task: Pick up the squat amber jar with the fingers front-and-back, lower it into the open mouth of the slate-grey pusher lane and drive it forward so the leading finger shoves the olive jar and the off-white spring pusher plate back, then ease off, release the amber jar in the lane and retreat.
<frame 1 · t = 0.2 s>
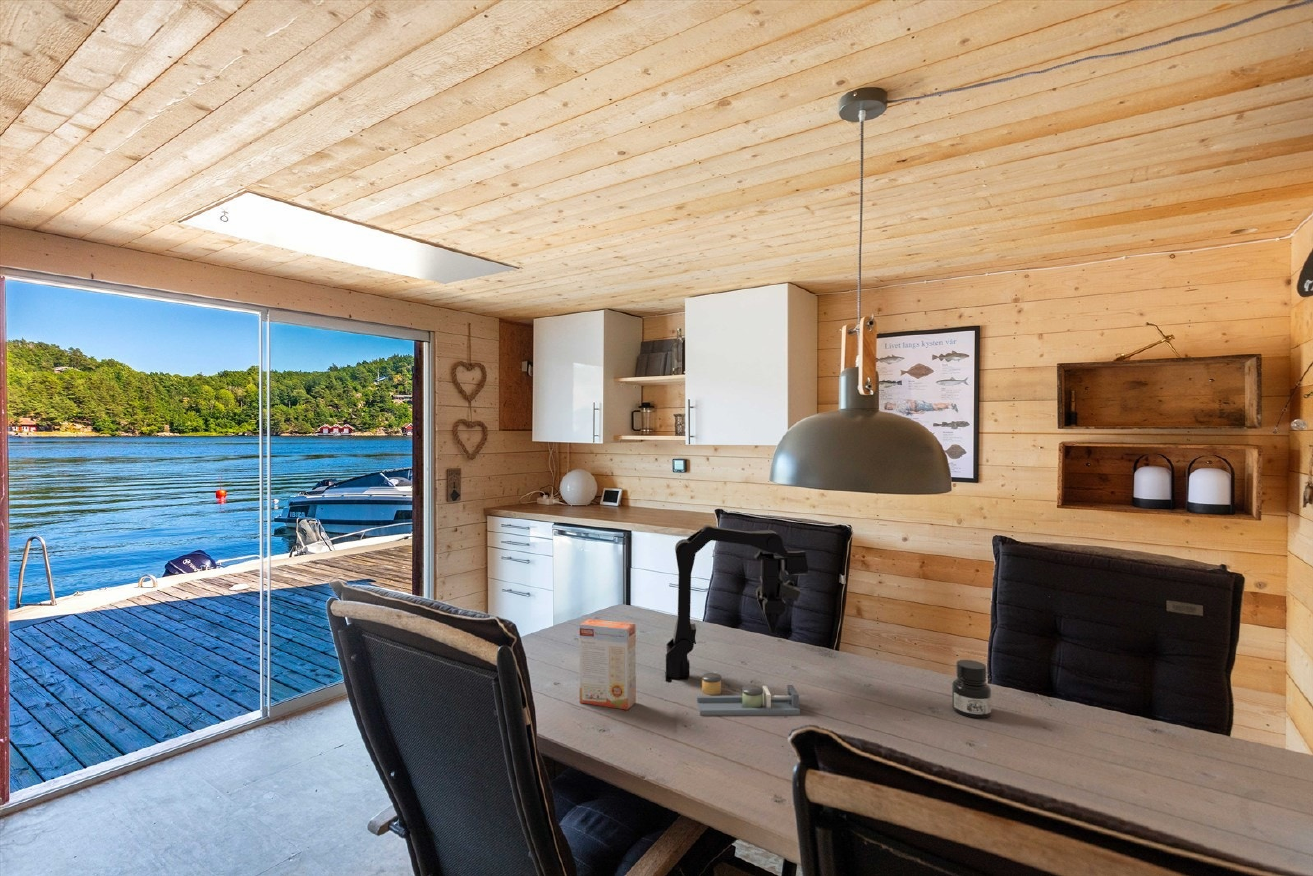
hand: (770, 628, 180), 14 cm above the table, fingers open, 9 cm apart
pusher: (787, 698, 159), point 3 cm above the table, slide at 0.0 cm
jar in lane: (752, 707, 159), point 1 cm above the table, touching lane
ink bottle: (971, 712, 158), on the table
lane: (747, 709, 159), on the table
jar: (711, 693, 169), on the table
cracker box: (607, 703, 163), on the table
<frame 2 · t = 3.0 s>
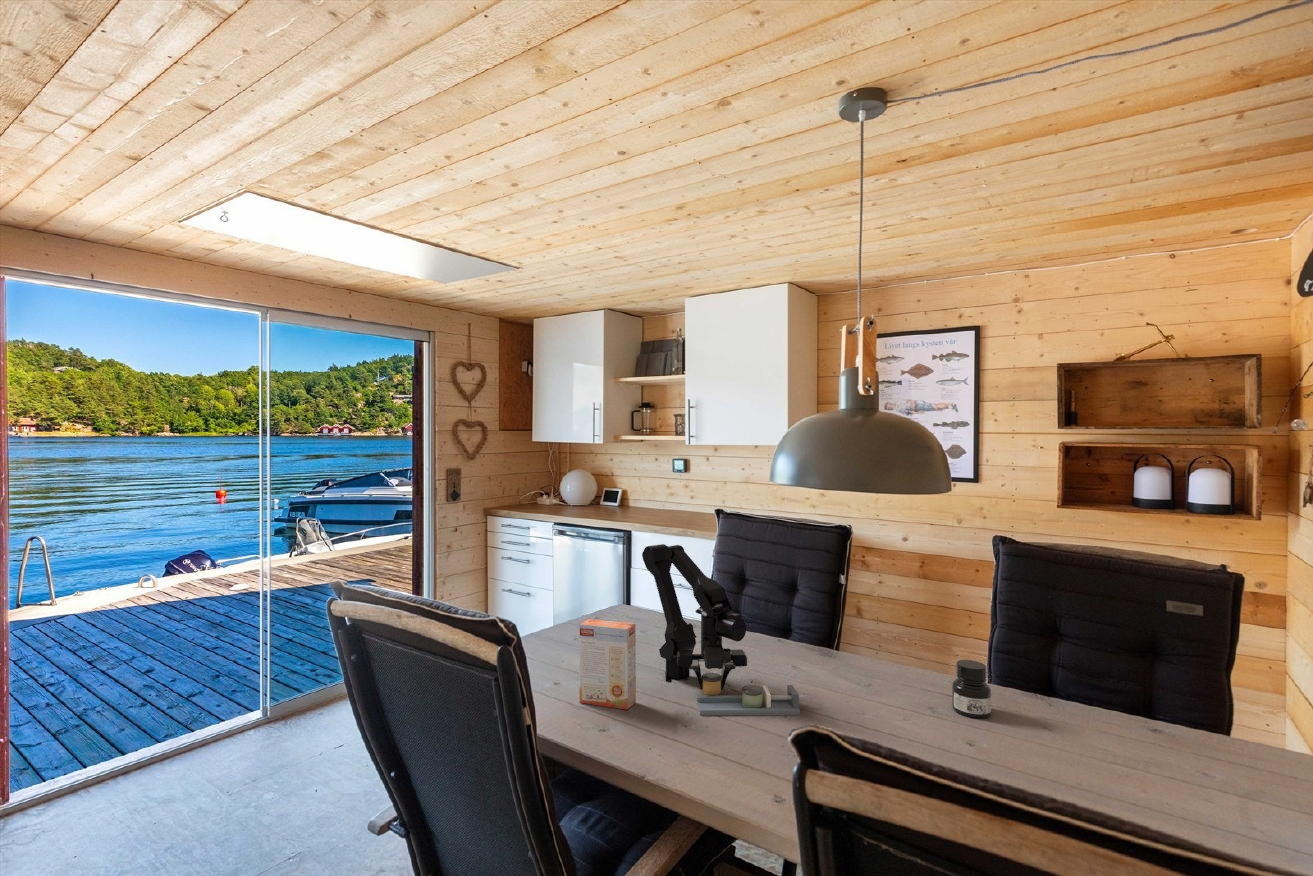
hand: (711, 689, 169), 1 cm above the table, fingers closed on jar, 5 cm apart
jar: (711, 693, 169), on the table, touching gripper
everything else where it was.
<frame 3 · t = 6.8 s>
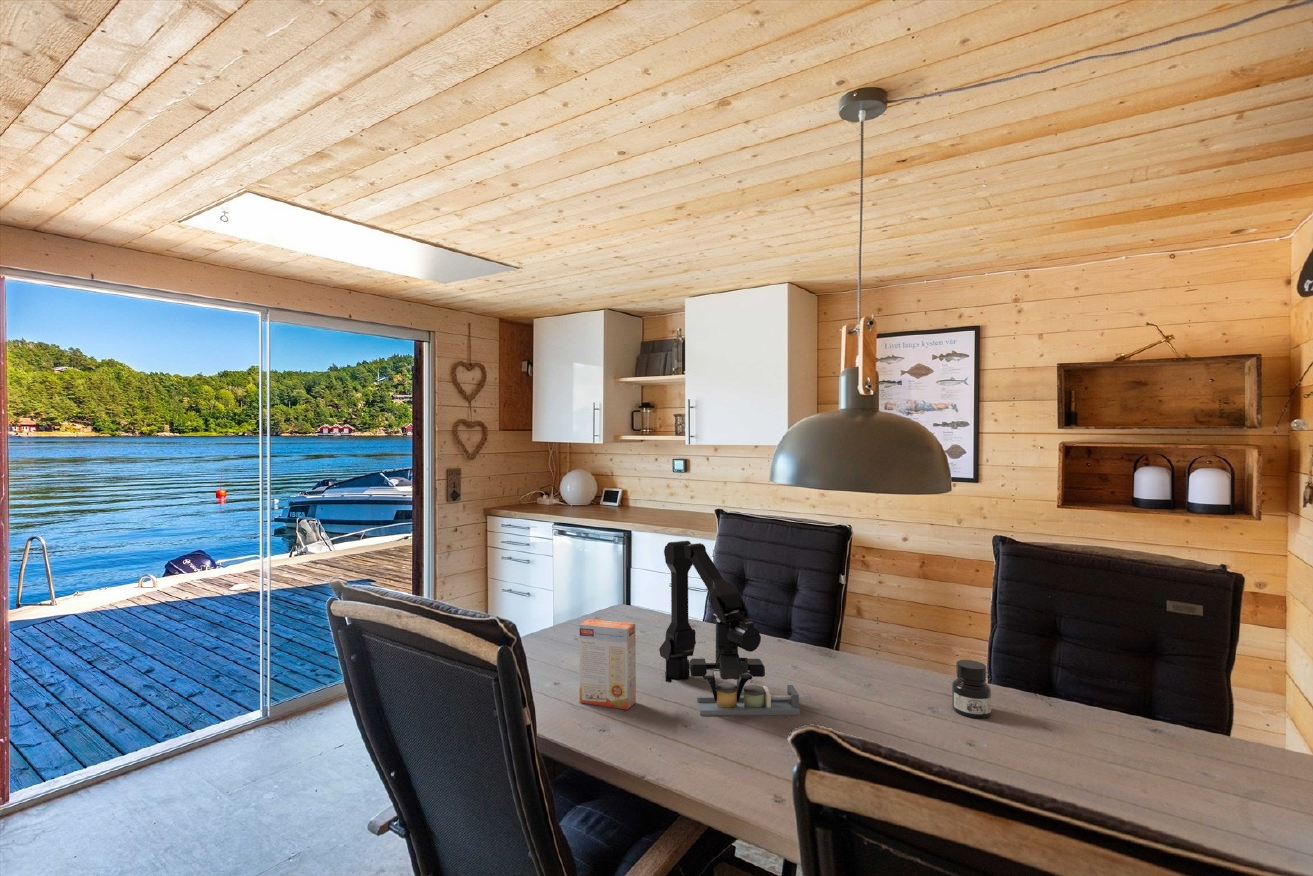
hand: (726, 701, 158), 2 cm above the table, fingers closed on jar, 5 cm apart
jar in lane: (754, 707, 159), point 1 cm above the table, touching gripper
jar: (726, 705, 158), point 1 cm above the table, touching gripper
everything else where it was.
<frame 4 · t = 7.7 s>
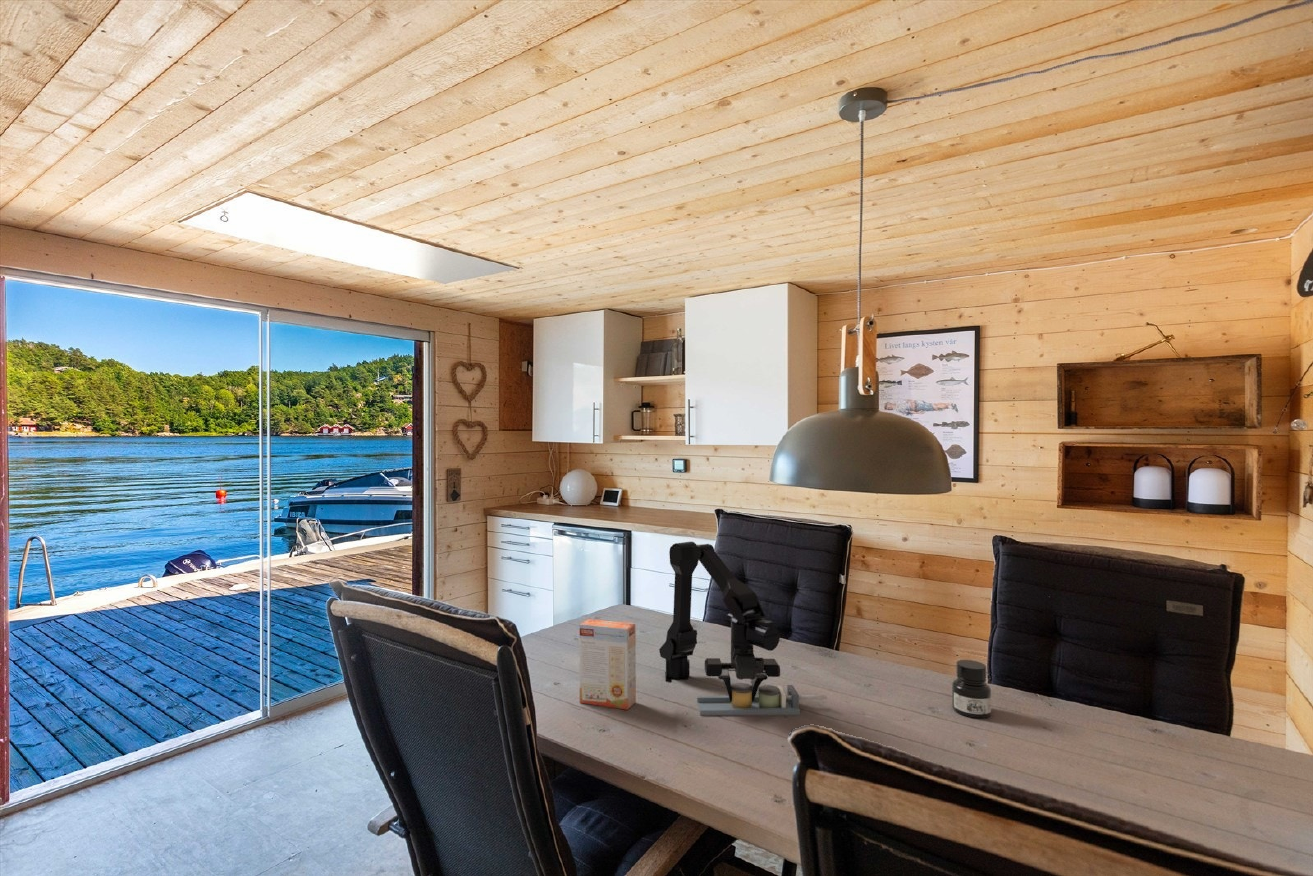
hand: (741, 700, 159), 2 cm above the table, fingers closed on jar, 5 cm apart
pusher: (802, 697, 159), point 3 cm above the table, slide at 3.8 cm, touching jar in lane
jar in lane: (769, 707, 159), point 1 cm above the table, touching gripper, lane, pusher
jar: (741, 705, 158), point 1 cm above the table, touching gripper
everything else where it was.
when the fingers open (2 cm above the table, at t = 9.1 s): jar stays where it is, resting on lane.
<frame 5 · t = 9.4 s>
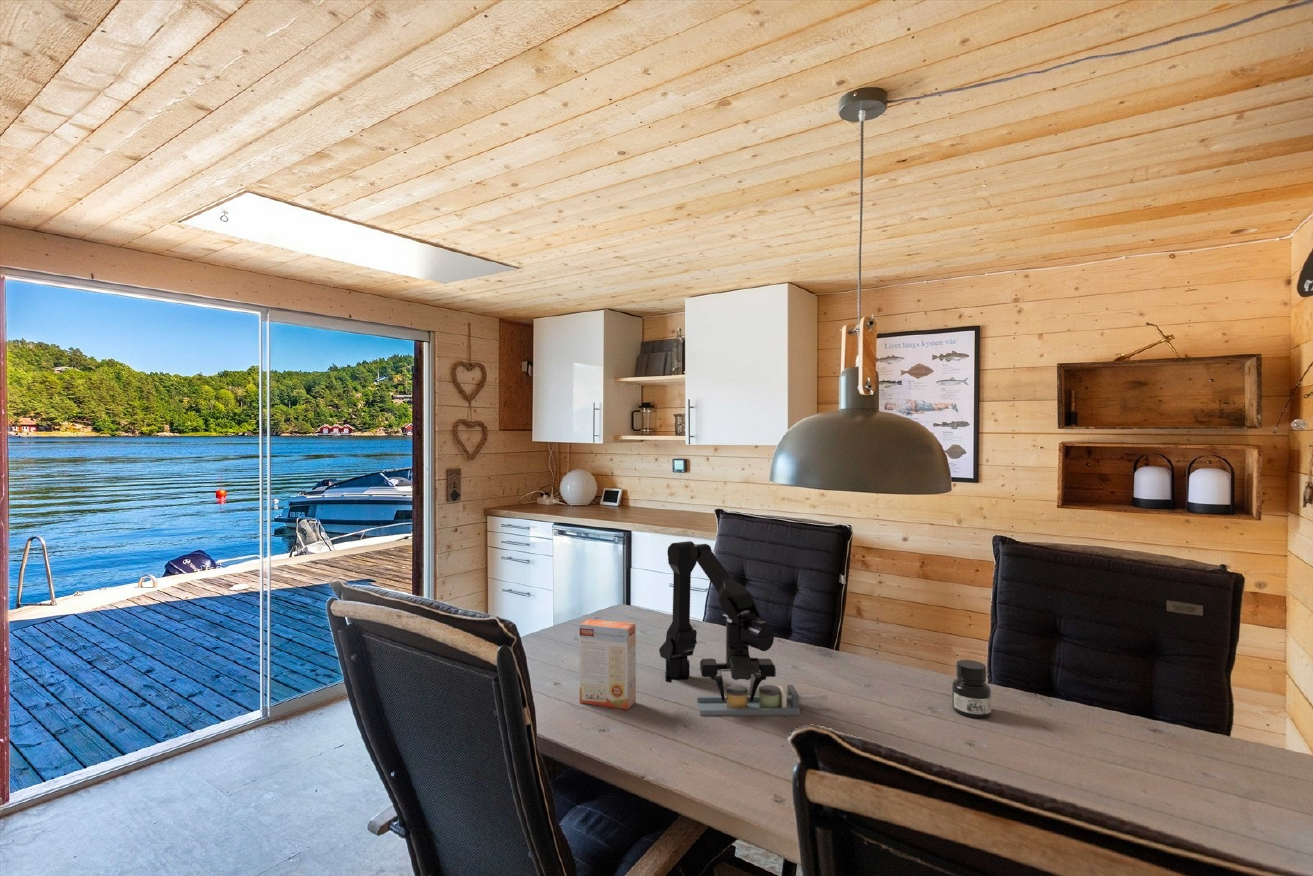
hand: (737, 701, 159), 2 cm above the table, fingers open, 7 cm apart
pusher: (803, 697, 159), point 3 cm above the table, slide at 4.0 cm
jar in lane: (769, 707, 159), point 1 cm above the table, touching lane
jar: (737, 707, 159), point 1 cm above the table, touching lane
everything else where it was.
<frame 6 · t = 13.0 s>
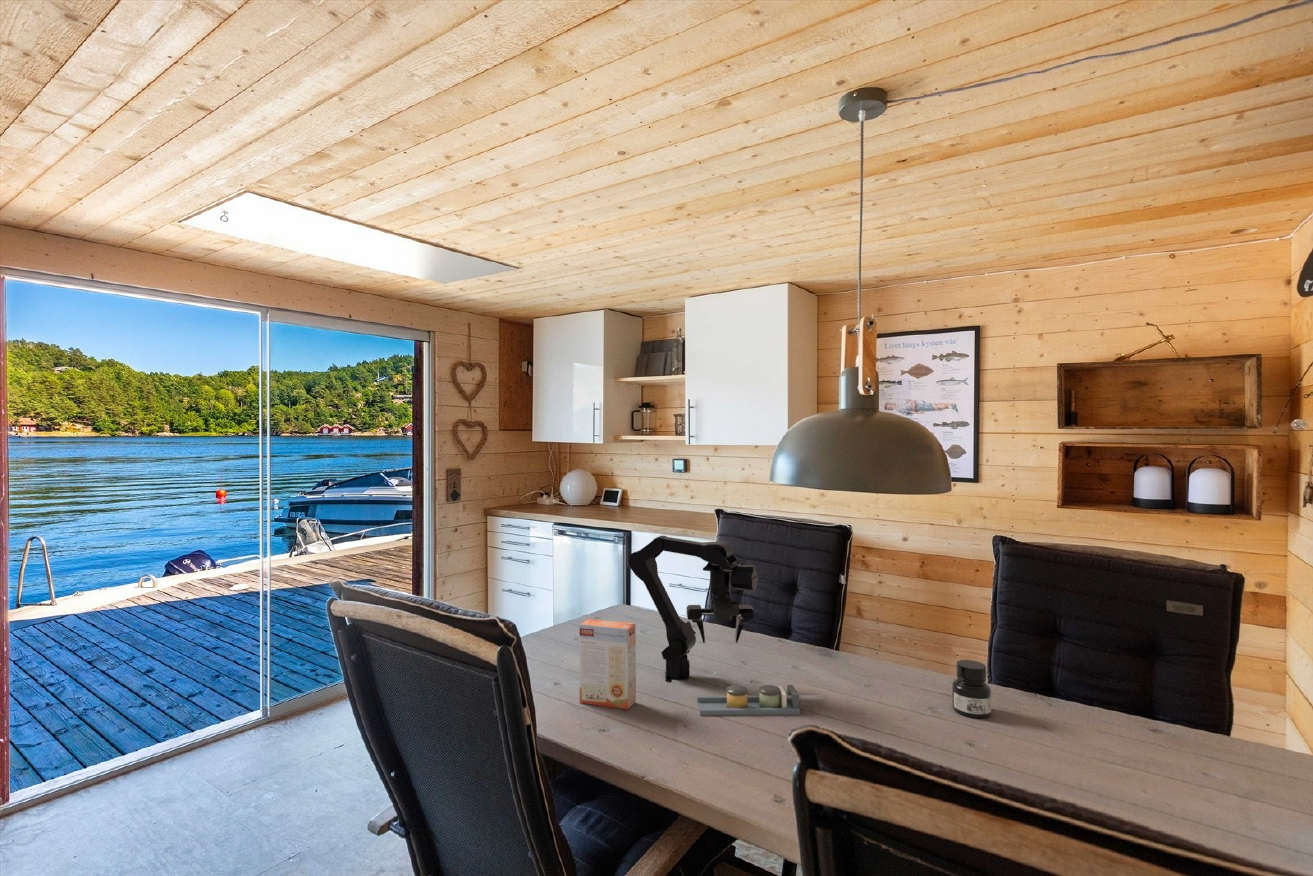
hand: (720, 642, 175), 12 cm above the table, fingers open, 9 cm apart
nothing on the table moved.
at the end: jar 0.9 cm from the target spot on the lane, point 0.6 cm above the lane's base; jar tilted 0°; pusher slide at 4.0 cm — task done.
